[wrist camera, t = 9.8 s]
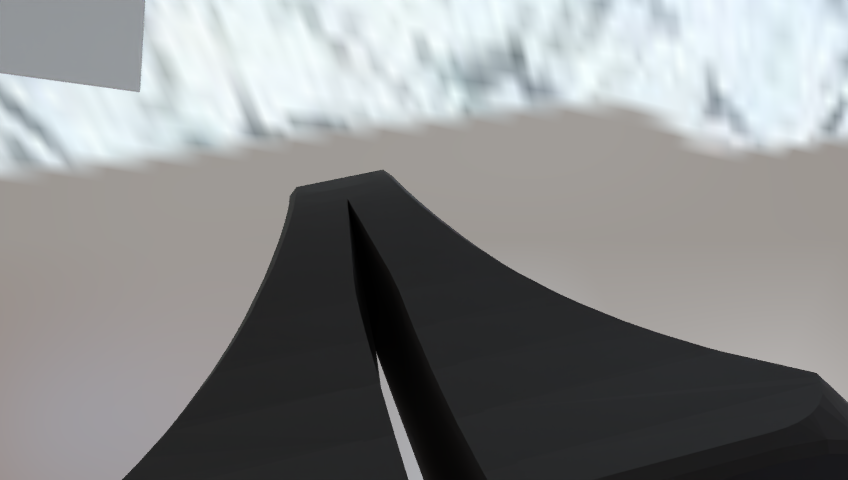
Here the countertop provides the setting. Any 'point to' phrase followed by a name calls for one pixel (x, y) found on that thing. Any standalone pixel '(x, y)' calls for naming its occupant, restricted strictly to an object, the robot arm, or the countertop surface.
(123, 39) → the slate mat
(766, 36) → the countertop surface
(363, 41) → the countertop surface
